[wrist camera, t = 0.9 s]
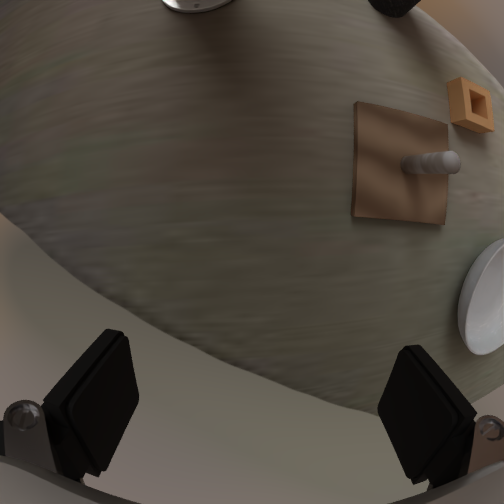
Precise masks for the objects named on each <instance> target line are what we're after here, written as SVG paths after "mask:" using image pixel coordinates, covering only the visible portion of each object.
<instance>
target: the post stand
mask: <svg viewBox="0 0 504 504" xmlns="http://www.w3.org/2000/svg"><path fill="white" fill-rule="evenodd" d="M459 169H460V159H459V156H458V155H457V154H456V153H455V152H454V151H448V124H445V123H442V122H439V121H436V120H433V119H430V118H426V117H423V116H419V115H416V114H412V113H408V112H405V111H401V110H397V109H392V108H388V107H384V106H379V105H374V104H369V103H364V102H359V101H357V102H356V103H354V162H353V187H352V204H351V215H352V216H355V217H368V218H380V219H391V220H402V221H412V222H422V223H432V224H441V225H445V218H446V207H447V193H448V174H456V173H457V172H458V171H459Z"/></svg>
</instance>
